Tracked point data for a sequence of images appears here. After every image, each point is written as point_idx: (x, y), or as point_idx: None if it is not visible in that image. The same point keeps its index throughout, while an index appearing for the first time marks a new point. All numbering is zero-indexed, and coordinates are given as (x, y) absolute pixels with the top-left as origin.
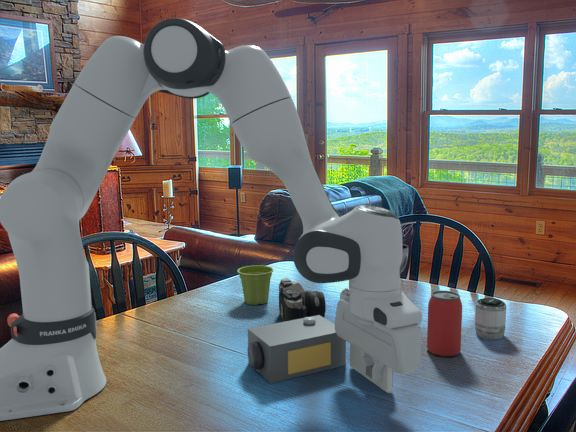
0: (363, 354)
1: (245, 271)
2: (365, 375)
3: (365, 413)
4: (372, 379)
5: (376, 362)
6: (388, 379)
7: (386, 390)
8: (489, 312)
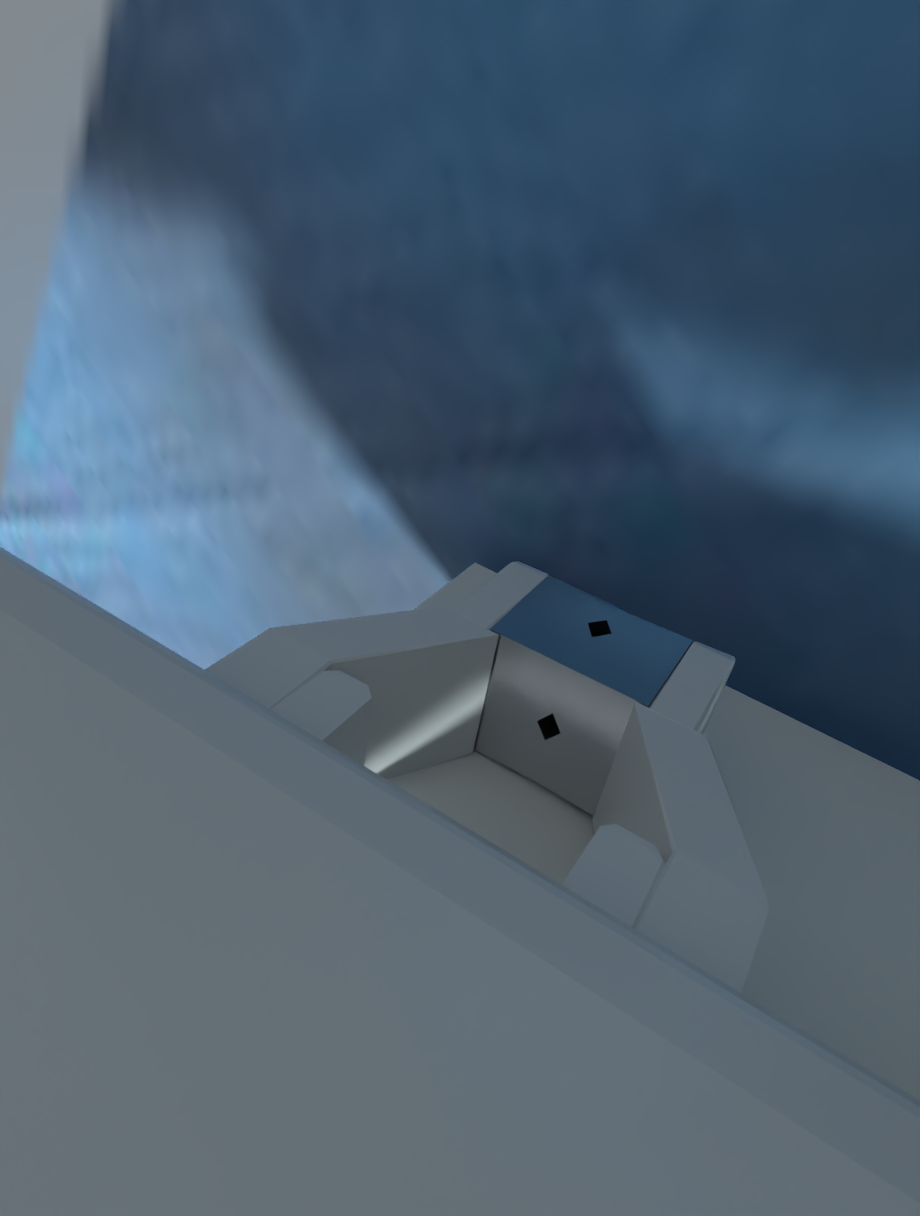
0: (627, 863)
1: None
2: (888, 780)
3: (364, 24)
4: (724, 708)
5: (260, 654)
6: None
7: (477, 576)
8: None
